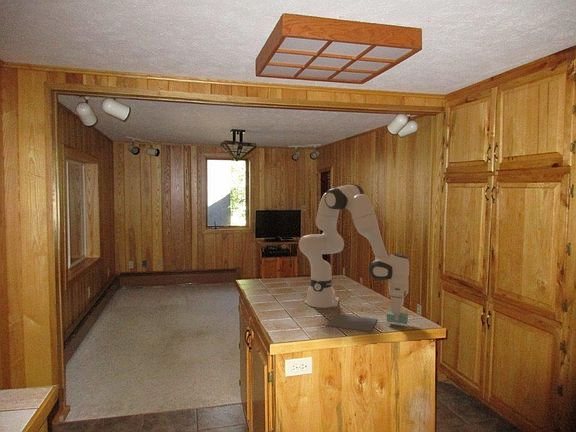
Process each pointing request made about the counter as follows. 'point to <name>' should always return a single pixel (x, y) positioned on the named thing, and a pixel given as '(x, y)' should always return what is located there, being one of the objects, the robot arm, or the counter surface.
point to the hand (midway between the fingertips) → (397, 317)
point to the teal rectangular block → (402, 318)
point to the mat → (352, 322)
